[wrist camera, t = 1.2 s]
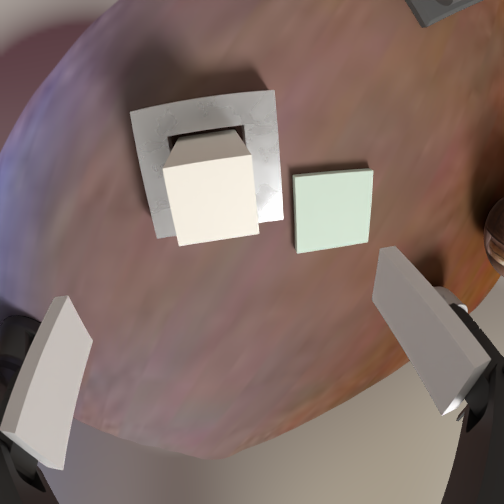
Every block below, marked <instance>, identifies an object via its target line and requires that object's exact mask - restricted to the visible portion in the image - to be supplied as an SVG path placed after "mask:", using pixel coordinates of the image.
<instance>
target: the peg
mask: <svg viewBox="0 0 504 504" xmlns="http://www.w3.org/2000/svg"><path fill="white" fill-rule="evenodd" d="M163 174H164V179H165V184H166V189H167V194H168V199H169V203H170V208H171V212H172V217H173V221H174V226H175V230H176V235H177V239H178V243H179V246H183V245H190V244H196V243H202V242H209V241H215V240H222V239H228V238H235V237H241V236H248V235H255V234H259V226H258V216H257V205H256V194H255V184H254V174H253V163H252V155H251V153H250V152H249V150H248V149H247V147H246V145H245V144H244V142H243V141H242V140H241V138H240V137H239V135H238V134H237V132H236V131H235V129H231V130H224V131H216V132H210V133H203V134H197V135H191V136H185V137H179V138H178V140H177V141H176V143H175V145H174V147H173V149H172V151H171V153H170V155H169V157H168V159H167V161H166V163H165V165H164V167H163Z"/></svg>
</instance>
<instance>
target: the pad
mask: <svg viewBox="0 0 504 504" xmlns="http://www.w3.org/2000/svg"><path fill="white" fill-rule="evenodd" d="M372 185H373V170H371V169H370V168H366V169H351V170H339V171H327V172H316V173H306V174H296V175H293V198H294V225H295V250H296V252H297V254H298V253H304V252H310V251H316V250H323V249H329V248H335V247H341V246H347V245H353V244H360V243H366V242H368V235H369V225H370V214H371V201H372Z"/></svg>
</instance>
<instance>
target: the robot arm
mask: <svg viewBox="0 0 504 504" xmlns="http://www.w3.org/2000/svg"><path fill="white" fill-rule="evenodd" d="M372 301H373V302H374V304H375V305H376V307H377V308H378V310H379V312H380V313H381V315H382V316H383V318H384V319H385V321H386V322H387V324H388V326H389V327H390V329H391V330H392V332H393V333H394V335H395V337H396V338H397V340H398V342H399V343H400V345H401V346H402V348H403V350H404V351H405V353H406V355H407V356H408V358H409V360H410V361H411V363H412V365H413V366H414V368H415V370H416V371H417V373H418V375H419V376H420V378H421V380H422V382H423V383H424V385H425V387H426V389H427V390H428V392H429V394H430V396H431V397H432V399H433V401H434V403H435V405H436V407H437V408H438V410H439V412H440V414H441V415H444V414H446V413H448V412H450V411H452V410H454V409H456V408H458V406H459V405H460V404H461V402H462V401H463V400H464V399H465V400H466V402H467V403H468V404H467V406H466V407H465V408H464V409H463V411H462V412H461V413H460V414H459V415H458V418H457V420H456V421H459V420H460V419H461V418H462V417H463V416H464V418H463V421H462V422H463V423H462V429H461V434H460V438H459V443H458V447H457V451H456V455H455V459H454V463H453V467H452V470H451V474H450V478H449V481H448V484H447V487H446V490H445V493H444V496H443V499H442V502H441V504H504V357H503V356H502V355H501V354H500V353H499V351H498V350H497V349H496V348H495V346H494V345H493V344H492V342H491V341H490V340H489V339H488V337H487V336H486V335H485V334H484V332H483V331H482V330H481V329H479V326H478V325H477V324H476V322H475V321H473V319H472V318H471V317H470V315H469V314H468V313H467V312H466V311H465V310H464V309H463V308H461V307H460V306H458V305H457V304H455V303H452V304H449V305H448V304H447V302H446V301H445V300H444V299H443V298H442V297H441V295H440V294H439V293H438V292H437V291H436V290H435V289H434V287H433V286H432V285H431V284H430V283H429V282H428V281H427V280H426V279H425V277H424V276H423V275H422V274H421V273H420V272H419V271H418V270H417V269H416V268H415V266H414V265H413V264H412V263H411V262H410V261H409V260H408V259H407V258H406V257H405V256H404V255H403V254H402V253H401V252H400V251H399V250H398V249H397V248H396V246H392V247H386V248H381V249H380V252H379V259H378V265H377V272H376V278H375V284H374V289H373V295H372ZM92 342H93V341H92V339H91V337H90V335H89V334H88V332H87V330H86V328H85V327H84V325H83V323H82V321H81V319H80V317H79V316H78V314H77V312H76V310H75V308H74V306H73V304H72V302H71V300H70V298H69V296H60V297H54V299H53V301H52V303H51V305H50V307H49V309H48V311H47V313H46V315H45V317H44V319H43V321H42V323H39V322H37V321H35V320H33V319H30V318H27V317H23V316H10V317H8V318H6V319H5V320H4V321H3V323H2V325H1V326H0V504H59V503H58V501H57V499H56V497H55V496H54V494H53V492H52V490H51V488H50V486H49V485H48V483H47V481H46V479H45V477H44V475H43V473H42V471H41V470H40V469H39V467H38V466H37V463H38V461H39V462H41V463H42V464H44V465H45V466H47V467H49V468H55V469H60V470H63V467H64V461H65V455H66V449H67V443H68V438H69V433H70V428H71V423H72V419H73V414H74V410H75V405H76V401H77V397H78V393H79V389H80V385H81V381H82V377H83V373H84V370H85V366H86V363H87V359H88V356H89V352H90V349H91V345H92Z"/></svg>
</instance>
